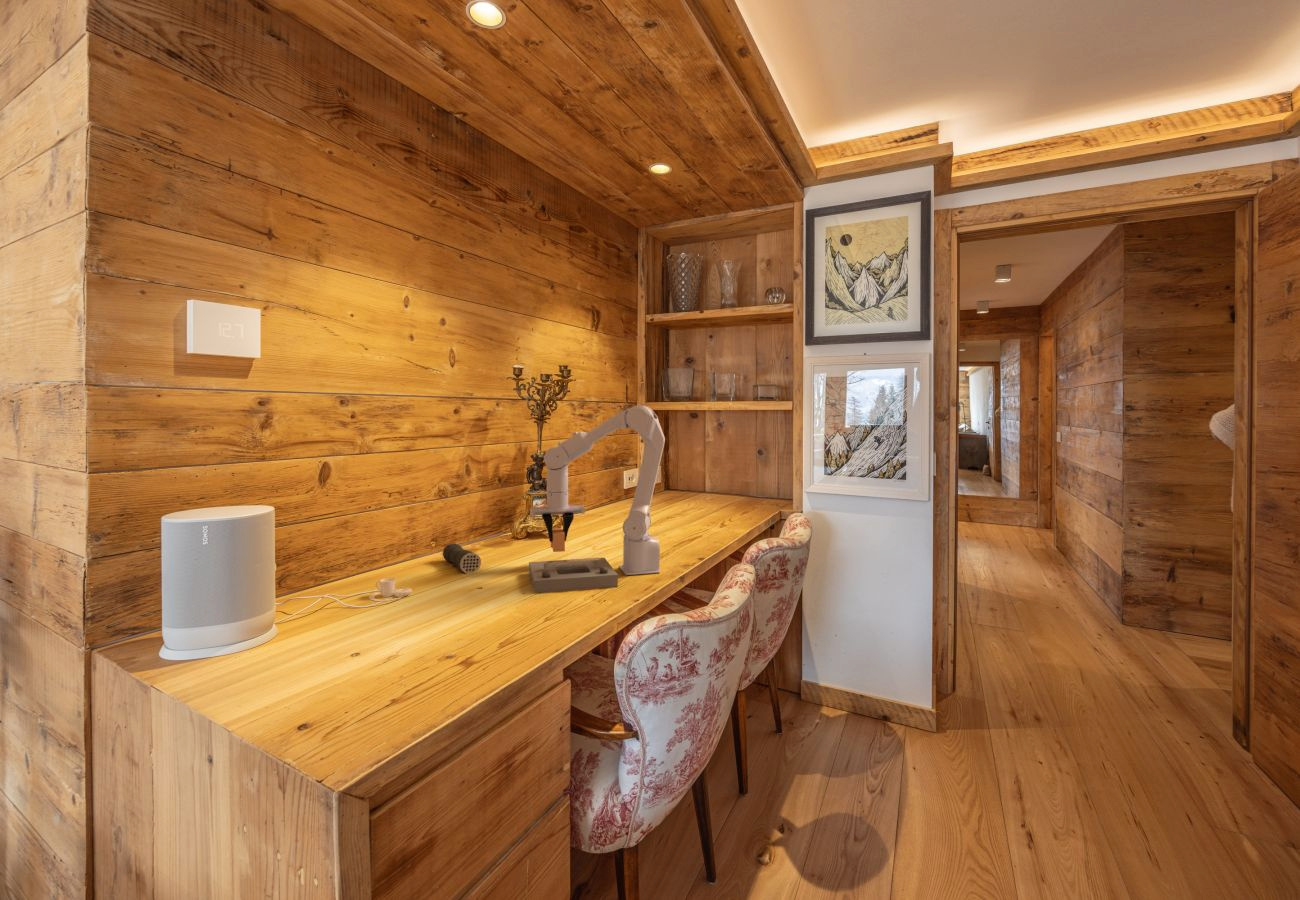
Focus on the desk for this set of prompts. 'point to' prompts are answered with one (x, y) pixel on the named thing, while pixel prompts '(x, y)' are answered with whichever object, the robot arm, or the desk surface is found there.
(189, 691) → the desk surface
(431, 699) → the desk surface
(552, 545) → the orange rectangular block
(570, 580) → the grey slotted tray
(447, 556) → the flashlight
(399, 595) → the teacup and saucer
